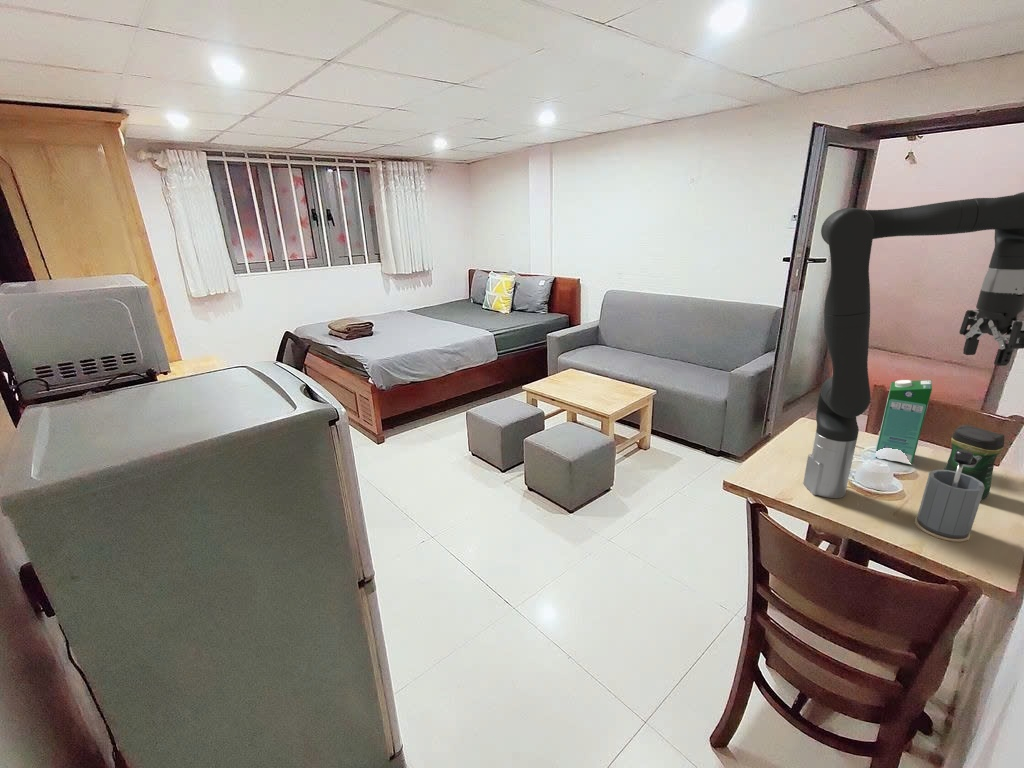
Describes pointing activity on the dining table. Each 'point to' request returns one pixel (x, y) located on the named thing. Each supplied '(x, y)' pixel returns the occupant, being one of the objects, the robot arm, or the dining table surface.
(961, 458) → the plunger
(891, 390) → the milk carton
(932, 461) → the dining table surface
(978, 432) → the coffee jar
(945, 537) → the press carafe
